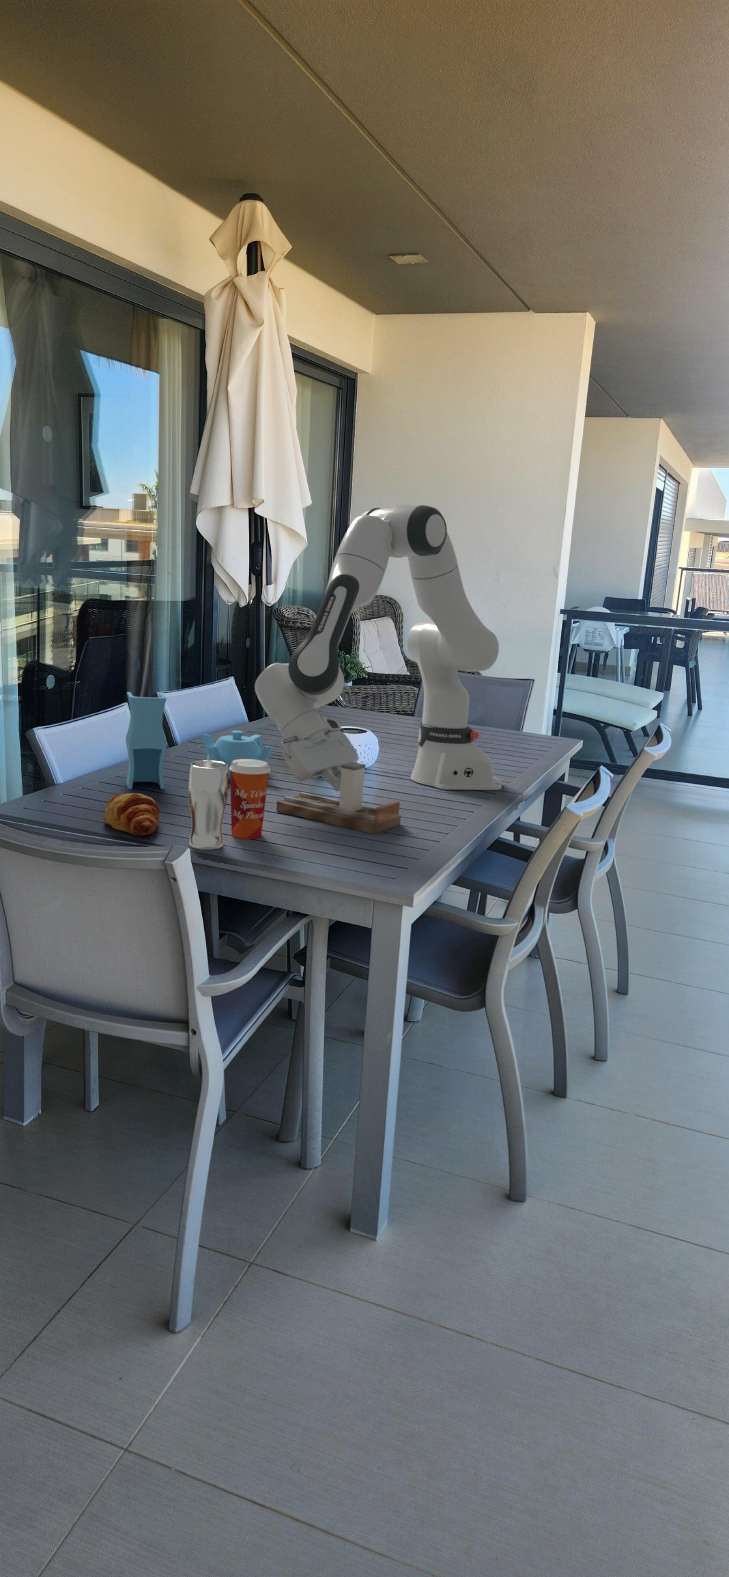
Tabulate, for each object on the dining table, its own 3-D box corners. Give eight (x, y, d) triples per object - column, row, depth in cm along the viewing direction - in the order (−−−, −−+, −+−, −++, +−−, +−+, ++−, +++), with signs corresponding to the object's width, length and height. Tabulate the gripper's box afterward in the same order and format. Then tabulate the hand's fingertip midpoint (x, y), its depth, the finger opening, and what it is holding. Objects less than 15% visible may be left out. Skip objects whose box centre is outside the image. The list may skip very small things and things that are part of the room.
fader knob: (338, 809, 202) (341, 764, 200) (348, 806, 206) (352, 762, 204) (351, 812, 201) (354, 767, 199) (362, 809, 204) (365, 764, 202)
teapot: (272, 784, 230) (275, 738, 228) (207, 783, 226) (209, 736, 224) (262, 769, 244) (264, 726, 242) (200, 768, 240) (202, 724, 238)
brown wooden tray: (276, 810, 207) (277, 787, 206) (303, 802, 215) (304, 780, 214) (375, 834, 195) (377, 809, 194) (400, 824, 204) (402, 801, 202)
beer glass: (217, 852, 176) (221, 770, 172) (180, 847, 177) (183, 765, 174) (230, 842, 182) (234, 762, 179) (194, 837, 184) (197, 758, 180)
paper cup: (232, 841, 183) (235, 767, 180) (221, 830, 190) (224, 758, 187) (272, 839, 186) (276, 766, 183) (260, 828, 193) (264, 758, 190)
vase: (160, 780, 225) (163, 692, 220) (165, 789, 218) (167, 698, 213) (124, 780, 222) (126, 691, 218) (128, 789, 215) (130, 697, 210)
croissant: (102, 829, 197) (83, 795, 194) (146, 803, 200) (128, 769, 197) (134, 858, 179) (114, 822, 176) (182, 829, 183) (163, 793, 179)
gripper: (286, 731, 196) (324, 788, 193) (342, 720, 213) (377, 772, 210) (267, 749, 199) (304, 806, 196) (323, 737, 216) (358, 789, 214)
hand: (342, 788), depth 203 cm, fingers closed, pressing on fader knob
